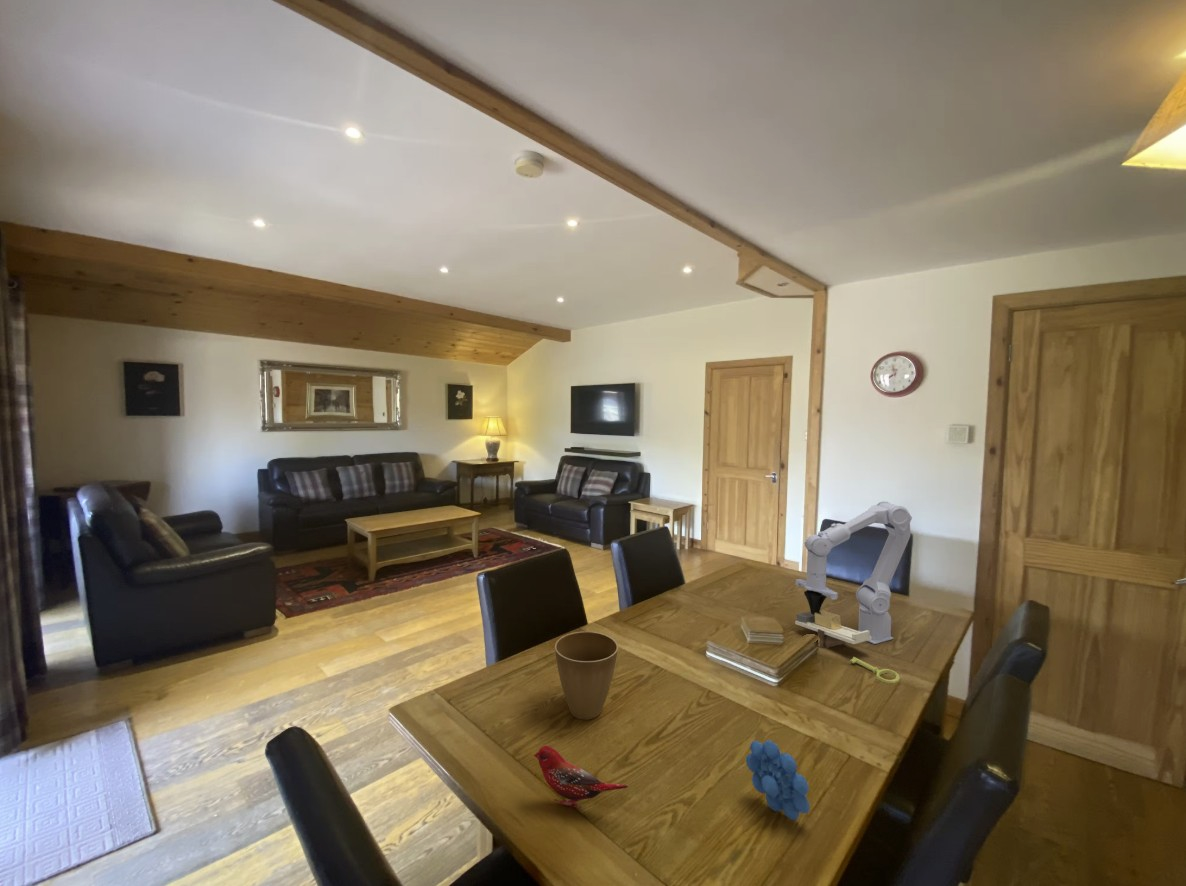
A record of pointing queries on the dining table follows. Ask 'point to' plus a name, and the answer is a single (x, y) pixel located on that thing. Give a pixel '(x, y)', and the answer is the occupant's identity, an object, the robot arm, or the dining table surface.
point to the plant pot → (586, 671)
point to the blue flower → (778, 779)
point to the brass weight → (828, 620)
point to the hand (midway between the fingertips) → (814, 613)
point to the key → (878, 671)
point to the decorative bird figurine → (570, 778)
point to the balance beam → (841, 634)
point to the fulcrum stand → (828, 639)
